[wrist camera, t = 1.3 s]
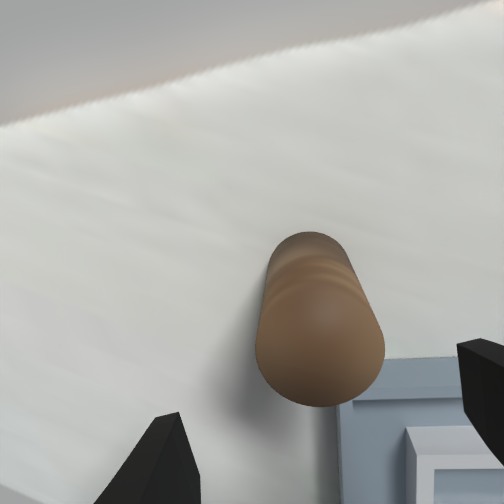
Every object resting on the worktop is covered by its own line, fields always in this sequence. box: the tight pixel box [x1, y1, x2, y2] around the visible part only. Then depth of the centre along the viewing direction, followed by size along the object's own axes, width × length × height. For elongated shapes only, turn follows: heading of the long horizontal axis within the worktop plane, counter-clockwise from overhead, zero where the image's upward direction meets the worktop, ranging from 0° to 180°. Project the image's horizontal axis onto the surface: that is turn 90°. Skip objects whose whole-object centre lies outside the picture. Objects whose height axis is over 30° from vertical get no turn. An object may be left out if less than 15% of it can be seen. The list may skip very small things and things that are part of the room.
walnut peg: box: [255, 232, 385, 407], centre depth 17 cm, size 4×4×8 cm
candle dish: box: [336, 357, 504, 504], centre depth 22 cm, size 14×14×3 cm
